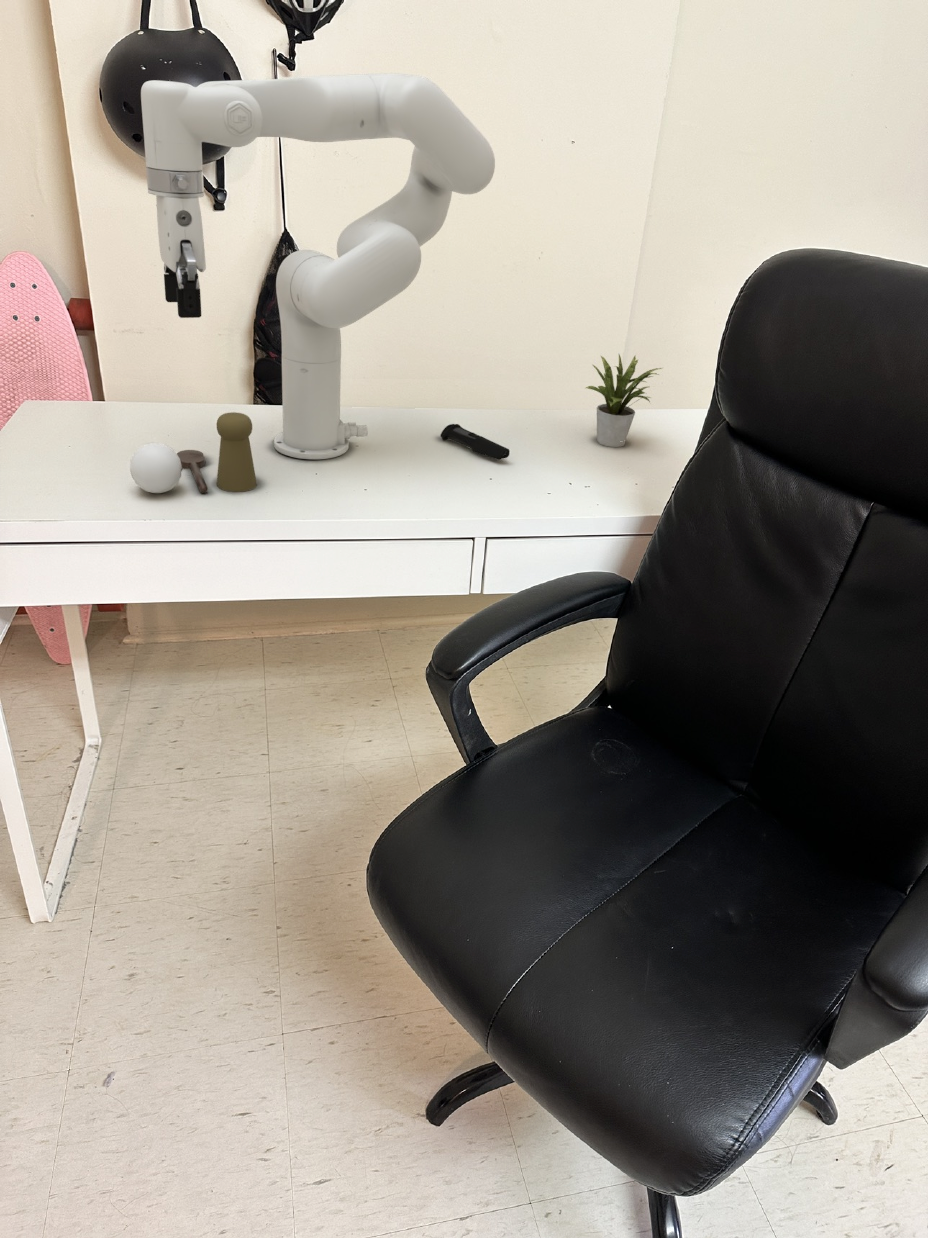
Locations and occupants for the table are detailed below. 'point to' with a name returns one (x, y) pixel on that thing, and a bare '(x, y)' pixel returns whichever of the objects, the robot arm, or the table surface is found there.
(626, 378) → the house plant
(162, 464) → the white ovoid
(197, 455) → the wooden spoon
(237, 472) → the cork
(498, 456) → the electric trimmer
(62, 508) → the table surface
